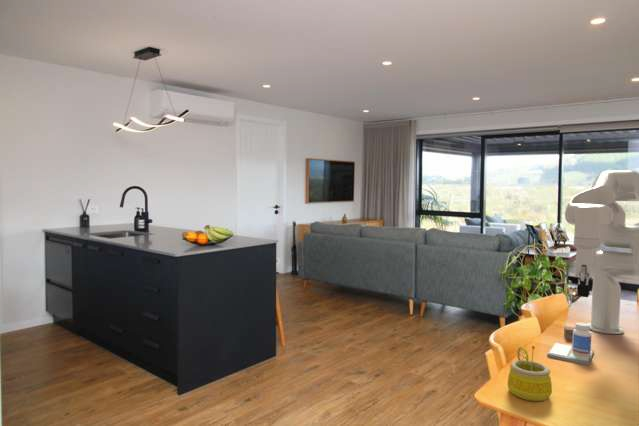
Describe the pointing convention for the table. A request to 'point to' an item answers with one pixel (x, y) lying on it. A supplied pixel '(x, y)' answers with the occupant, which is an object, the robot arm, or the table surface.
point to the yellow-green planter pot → (529, 378)
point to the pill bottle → (581, 339)
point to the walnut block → (568, 332)
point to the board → (568, 354)
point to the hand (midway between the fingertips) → (584, 293)
